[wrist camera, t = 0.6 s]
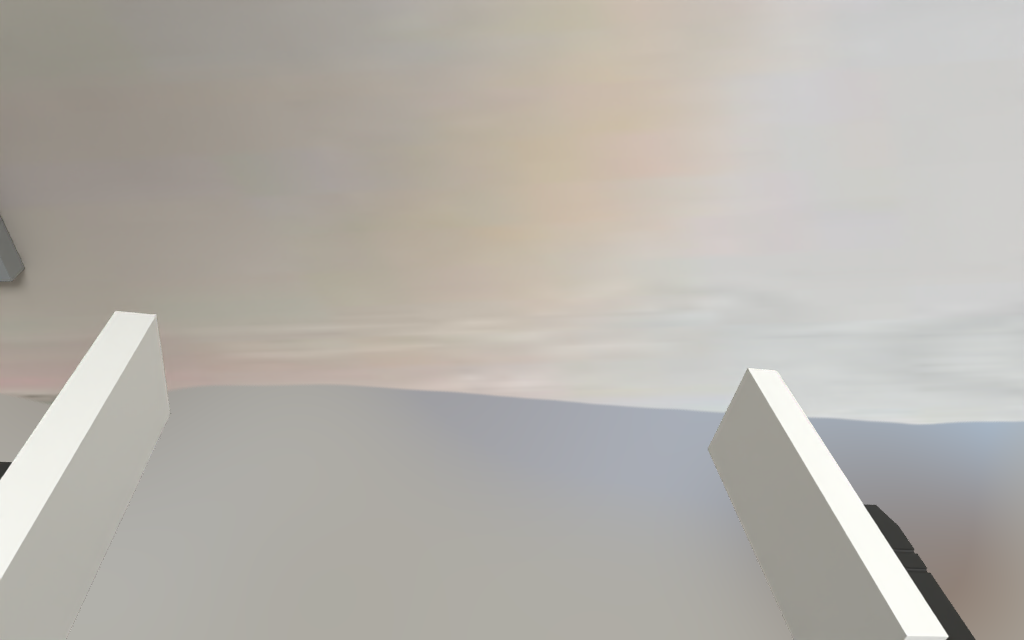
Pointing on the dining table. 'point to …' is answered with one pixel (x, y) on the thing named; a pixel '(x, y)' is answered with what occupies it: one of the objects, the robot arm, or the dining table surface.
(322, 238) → the dining table surface
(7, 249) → the plate
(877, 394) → the dining table surface
